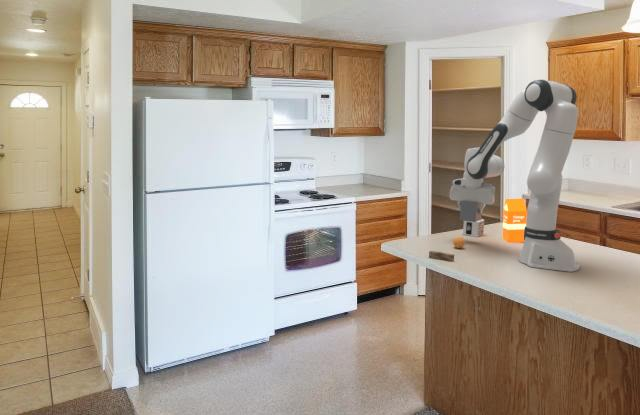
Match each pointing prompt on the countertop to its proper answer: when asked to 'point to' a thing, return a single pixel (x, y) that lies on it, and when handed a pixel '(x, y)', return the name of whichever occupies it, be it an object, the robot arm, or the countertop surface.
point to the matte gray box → (470, 211)
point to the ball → (458, 242)
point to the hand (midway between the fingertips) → (470, 211)
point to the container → (473, 228)
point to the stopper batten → (441, 255)
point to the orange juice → (514, 220)
